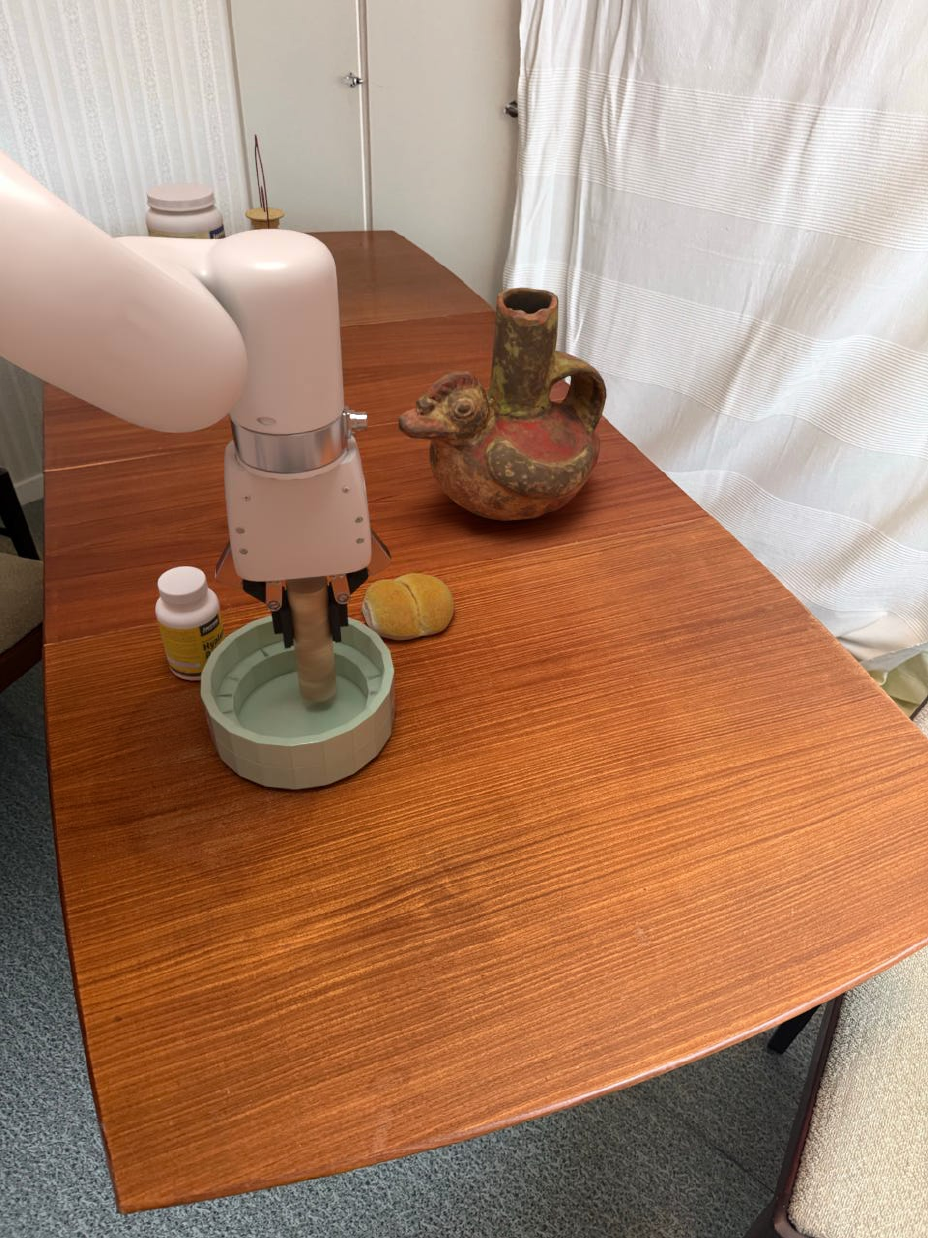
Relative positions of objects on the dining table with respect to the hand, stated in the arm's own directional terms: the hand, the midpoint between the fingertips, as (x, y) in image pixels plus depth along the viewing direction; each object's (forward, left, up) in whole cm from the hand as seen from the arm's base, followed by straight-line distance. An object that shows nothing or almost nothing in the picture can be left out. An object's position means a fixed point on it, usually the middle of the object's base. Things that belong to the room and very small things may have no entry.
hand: (312, 632), depth 68 cm
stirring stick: (0, 0, -7) cm, 7 cm away
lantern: (+1, +74, -9) cm, 74 cm away
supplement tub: (-12, +100, -9) cm, 101 cm away
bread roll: (+10, +11, -9) cm, 17 cm away
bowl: (-1, -1, -9) cm, 9 cm away
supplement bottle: (-10, +8, -9) cm, 16 cm away
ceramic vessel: (+24, +28, -9) cm, 37 cm away
